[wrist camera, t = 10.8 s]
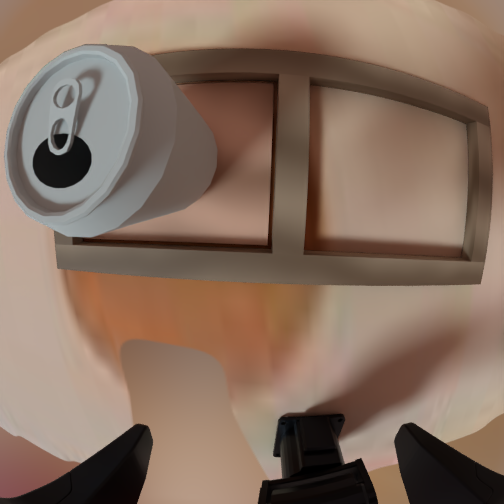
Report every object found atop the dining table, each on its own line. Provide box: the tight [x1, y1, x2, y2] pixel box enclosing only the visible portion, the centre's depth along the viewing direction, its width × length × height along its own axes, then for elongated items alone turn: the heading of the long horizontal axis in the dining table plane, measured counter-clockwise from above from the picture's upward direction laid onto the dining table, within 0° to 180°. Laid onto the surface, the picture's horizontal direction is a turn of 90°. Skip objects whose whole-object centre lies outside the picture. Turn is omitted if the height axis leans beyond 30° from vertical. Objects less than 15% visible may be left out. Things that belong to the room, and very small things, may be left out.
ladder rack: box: [54, 49, 493, 286], centre depth 17 cm, size 16×36×2 cm, turn 88°
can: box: [4, 44, 218, 237], centre depth 12 cm, size 8×8×12 cm
